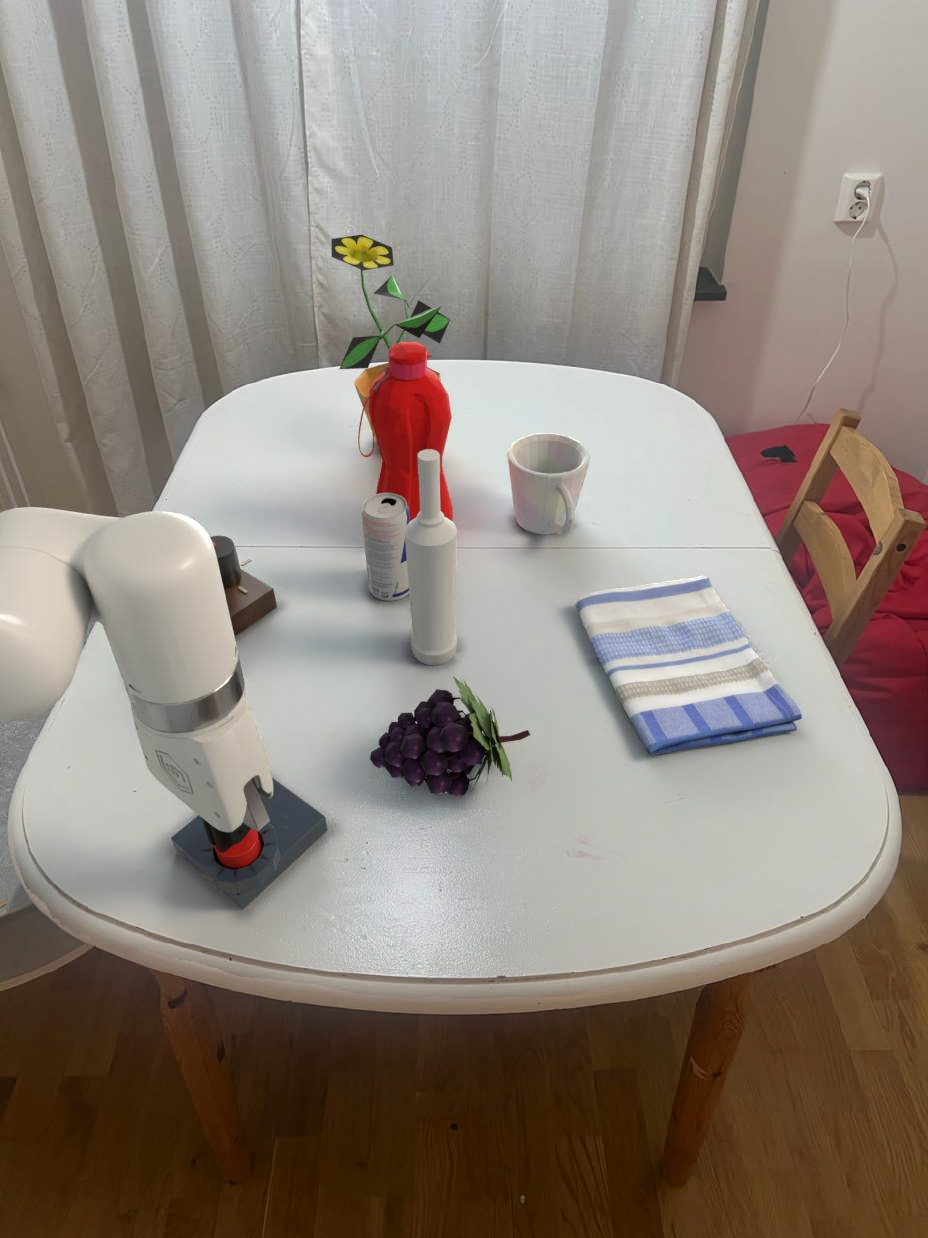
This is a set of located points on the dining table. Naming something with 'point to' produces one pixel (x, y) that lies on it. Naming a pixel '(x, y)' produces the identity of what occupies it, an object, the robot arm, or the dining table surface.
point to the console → (249, 601)
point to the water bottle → (408, 423)
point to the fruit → (443, 743)
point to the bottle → (431, 569)
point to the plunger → (241, 851)
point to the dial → (227, 560)
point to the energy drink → (386, 545)
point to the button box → (280, 847)
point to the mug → (547, 481)
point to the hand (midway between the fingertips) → (231, 835)
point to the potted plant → (362, 349)
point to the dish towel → (683, 666)
